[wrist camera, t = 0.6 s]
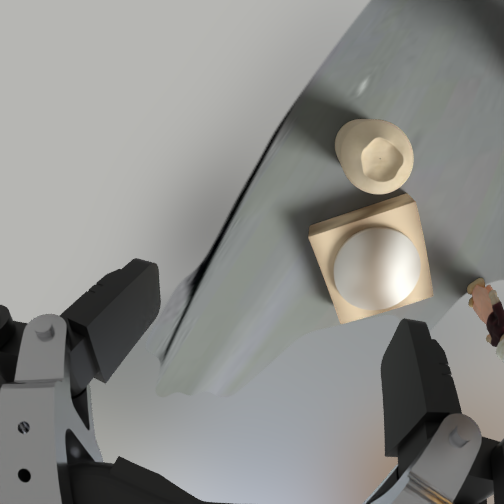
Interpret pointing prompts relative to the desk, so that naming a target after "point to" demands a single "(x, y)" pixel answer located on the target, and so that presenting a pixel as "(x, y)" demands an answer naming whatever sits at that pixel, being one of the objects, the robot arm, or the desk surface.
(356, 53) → the desk surface
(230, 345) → the desk surface
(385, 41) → the desk surface
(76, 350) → the robot arm
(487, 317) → the grandmother figurine
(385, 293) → the candle stand
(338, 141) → the candle
